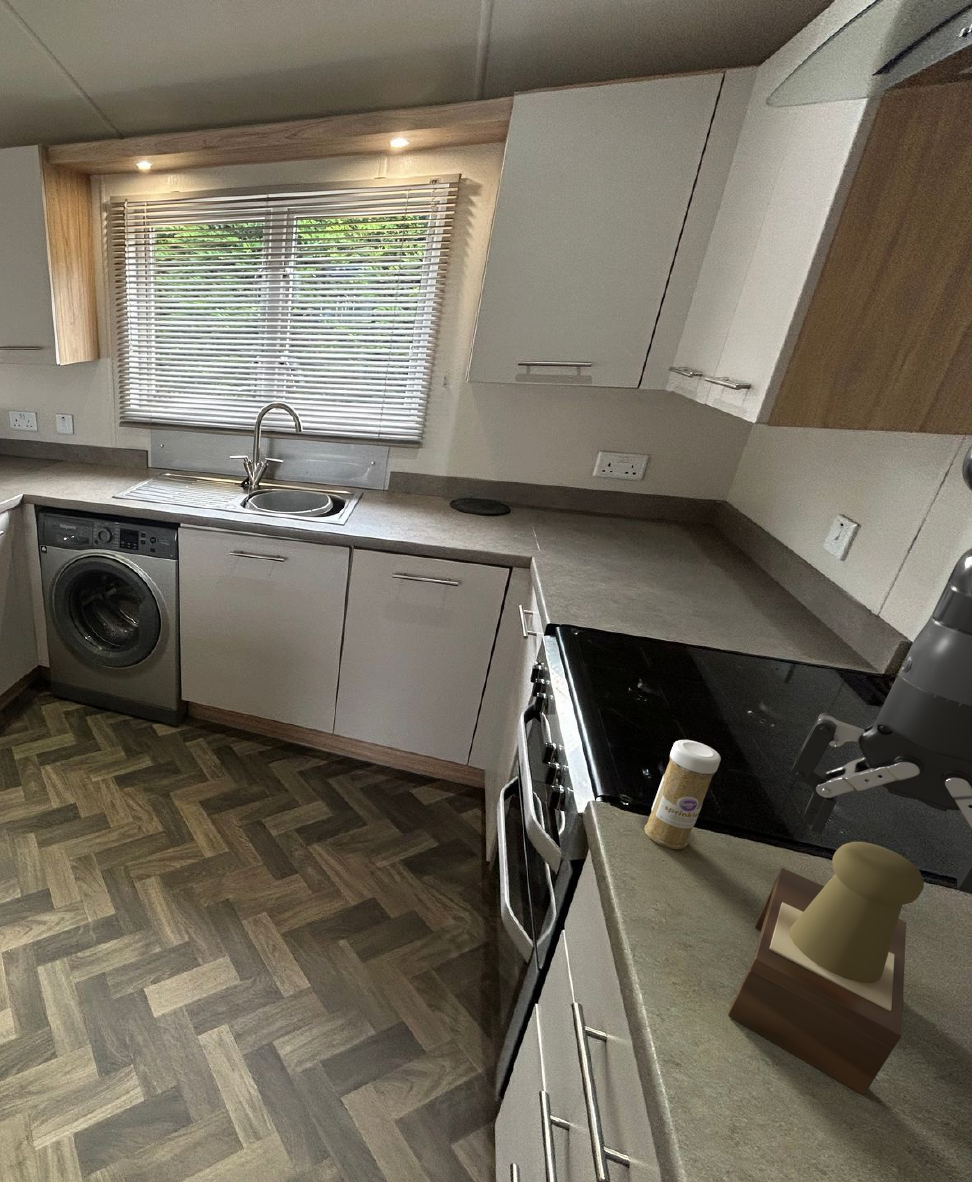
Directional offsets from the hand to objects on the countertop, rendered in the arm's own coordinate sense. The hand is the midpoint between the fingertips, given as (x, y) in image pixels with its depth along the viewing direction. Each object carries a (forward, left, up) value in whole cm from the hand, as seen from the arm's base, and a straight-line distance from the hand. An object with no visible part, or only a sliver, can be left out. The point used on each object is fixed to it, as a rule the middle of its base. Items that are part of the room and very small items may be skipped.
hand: (885, 855), depth 53 cm
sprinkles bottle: (+1, -23, -19) cm, 30 cm away
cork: (0, 0, -11) cm, 11 cm away
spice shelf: (-1, -2, -19) cm, 19 cm away
